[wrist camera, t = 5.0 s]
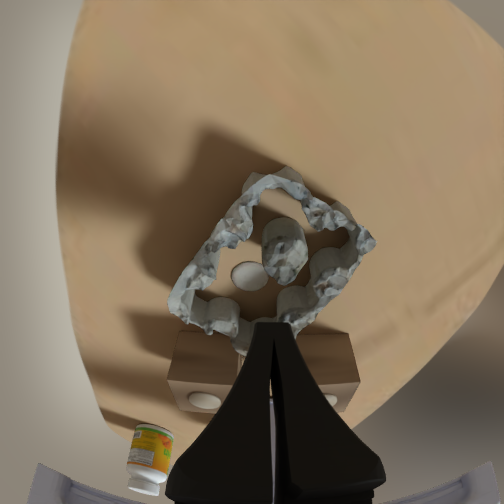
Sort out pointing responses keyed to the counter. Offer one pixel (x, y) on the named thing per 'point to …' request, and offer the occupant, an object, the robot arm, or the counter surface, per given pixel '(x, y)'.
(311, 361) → the dotted block
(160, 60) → the counter surface
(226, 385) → the dotted block
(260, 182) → the egg carton
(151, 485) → the supplement bottle
